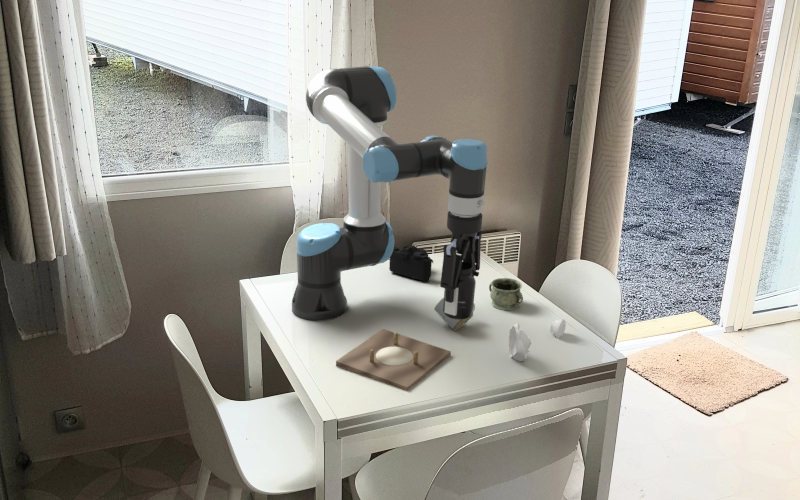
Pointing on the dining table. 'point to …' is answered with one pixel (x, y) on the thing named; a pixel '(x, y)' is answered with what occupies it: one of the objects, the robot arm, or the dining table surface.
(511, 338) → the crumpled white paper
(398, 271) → the film camera
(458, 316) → the supplement bottle
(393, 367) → the pin board
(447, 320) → the ceramic mug
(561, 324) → the white irregular lump
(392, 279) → the dining table surface
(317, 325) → the dining table surface
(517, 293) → the vessel
